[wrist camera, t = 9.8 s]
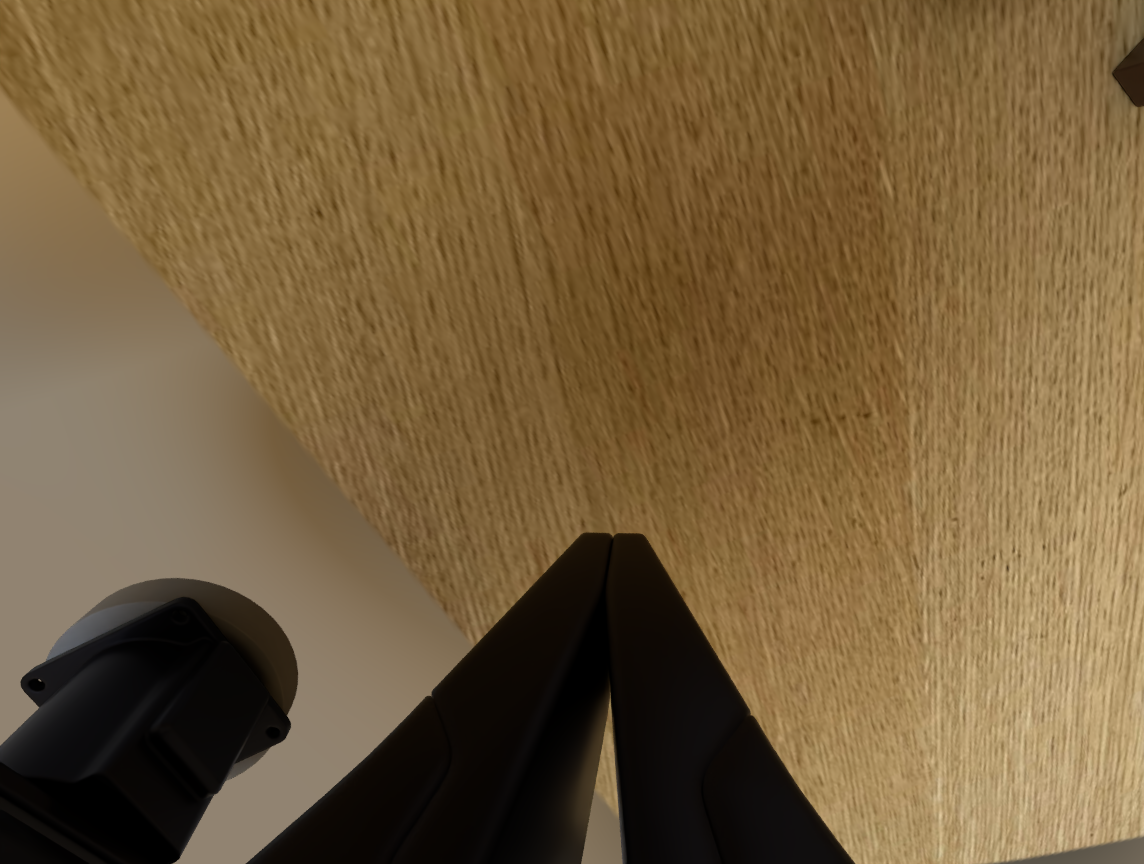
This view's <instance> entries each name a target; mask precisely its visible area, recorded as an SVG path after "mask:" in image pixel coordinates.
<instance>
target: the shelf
mask: <svg viewBox="0 0 1144 864" xmlns="http://www.w3.org/2000/svg"><path fill="white" fill-rule="evenodd" d="M1113 73H1114V75H1115V77H1116V78H1117V80H1118V81H1119V82H1120V84H1121V85H1122V87H1123V88H1124V89H1125V91H1126V92H1127V94H1128V95H1129V96H1130V98H1131V99H1132V101H1133V102H1134V103H1135V105H1136V106H1138V107H1140V106H1144V39H1143V40H1142V41H1141V42H1140V43H1139V45H1138V46H1137V47H1136V48H1135V49H1134V50H1133V51H1132V52H1131V53H1130V54H1129V55H1128V56H1127V58H1126V59H1125V60H1124V61H1123V62H1122V63H1121V64H1120V65H1119V66H1118V67H1117V68H1116V70H1115V71H1114V72H1113Z"/></svg>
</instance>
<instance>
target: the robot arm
mask: <svg viewBox="0 0 1144 864" xmlns="http://www.w3.org/2000/svg"><path fill="white" fill-rule="evenodd" d="M178 610H183V611H184V612H186V613H187V615H188V616H183V615H181V614H180V613H179V611H178ZM38 679H40V680H42V681H43V682H44V683H42V682H41V681H39V680H38ZM21 687H22V689H23V690H24V692H25V693H26V694H27V695H28V696H29V697H30V698H31V699H32V700H33V701H34V702H35V703H36V704H37V706H38V707H39V709H38V710H37V711H36V712H35V713H34V714H33V715H32V716H31V717H29V718H28V719H27V720H26V721H25V722H24V723H23V724H22V725H21V726H20V727H19V728H18V729H17V730H16V731H15V732H14V733H13V734H12V735H11V736H10V737H9V738H8V739H7V740H6V741H5V742H4V743H3V744H2V745H1V746H0V864H172V863H174V862H176V861H177V860H178V859H179V858H180V856H181V855H182V853H183V851H184V849H185V847H186V845H187V843H188V842H189V840H190V838H191V836H192V834H193V832H194V831H195V829H196V827H197V825H198V823H199V821H200V820H201V818H202V816H203V814H204V812H205V810H206V809H207V807H208V805H209V803H210V801H211V799H212V798H213V796H214V794H217V793H218V792H219V791H220V790H221V788H222V786H223V784H224V782H225V780H226V779H227V777H228V775H229V773H230V771H231V769H232V767H233V766H234V764H235V763H238V762H240V761H242V760H244V759H246V758H248V757H250V756H252V755H255V754H257V753H259V752H261V751H263V750H265V749H267V748H270V747H272V746H274V745H276V744H278V743H280V742H282V741H283V740H284V739H285V738H286V736H287V734H288V732H289V730H290V728H291V722H290V720H289V718H288V717H287V715H286V714H285V713H284V712H283V710H282V709H281V708H280V707H279V705H278V704H277V703H276V701H275V700H274V699H273V698H272V696H271V695H270V694H269V692H268V691H267V689H266V688H265V687H264V685H263V684H262V683H261V682H260V680H259V679H258V678H257V677H256V675H255V674H254V673H253V671H252V670H251V669H250V668H249V666H248V665H247V664H246V663H245V661H244V660H243V659H242V657H241V656H240V655H239V654H238V652H237V651H236V650H235V648H234V647H233V646H232V645H231V644H230V643H229V642H228V640H227V639H226V638H225V636H224V635H223V634H222V633H221V631H220V630H219V629H218V628H217V626H216V625H215V624H214V622H213V621H212V620H211V619H210V617H209V616H208V615H207V613H206V612H205V611H204V610H203V608H202V607H201V606H200V605H199V603H198V602H196V601H195V600H194V599H191V598H189V597H180V598H177V599H175V600H172V601H170V602H168V603H166V604H164V605H162V606H160V607H158V608H156V609H154V610H152V611H150V612H148V613H145V614H143V615H141V616H139V617H137V618H135V619H133V620H131V621H129V622H127V623H125V624H123V625H121V626H118V627H116V628H114V629H112V630H110V631H108V632H106V633H104V634H102V635H100V636H98V637H96V638H94V639H91V640H89V641H87V642H85V643H83V644H81V645H79V646H77V647H75V648H73V649H71V650H69V651H67V652H64V653H62V654H60V655H58V656H56V657H54V658H52V659H50V660H48V661H46V662H44V663H42V664H40V665H37V666H36V667H34V668H33V669H32V670H30V671H29V672H28V673H27V674H26V675H25V676H24V677H23V678H22V680H21ZM610 693H611V709H612V724H613V738H614V752H615V765H616V779H617V792H618V806H619V820H620V833H621V847H622V860H623V864H855V863H854V861H853V860H852V859H851V857H850V856H849V855H848V854H847V852H846V851H845V850H844V848H843V847H842V846H841V844H840V843H839V842H838V841H837V839H836V838H835V836H834V835H833V834H832V832H831V831H830V830H829V828H828V827H827V826H826V824H825V823H824V821H823V820H822V819H821V817H820V816H819V815H818V813H817V812H816V810H815V809H814V808H813V806H812V805H811V804H810V802H809V801H808V800H807V798H806V797H805V795H804V794H803V793H802V791H801V790H800V788H799V787H798V785H797V784H796V782H795V781H794V779H793V778H792V776H791V775H790V773H789V772H788V770H787V768H786V767H785V765H784V764H783V762H782V761H781V759H780V758H779V756H778V755H777V753H776V751H775V750H774V748H773V747H772V745H771V744H770V742H769V740H768V739H767V737H766V735H765V734H764V732H763V730H762V729H761V727H760V725H759V724H758V722H757V720H756V719H755V717H754V716H752V715H751V713H750V709H749V708H748V706H747V704H746V703H745V701H744V699H743V698H742V696H741V694H740V693H739V691H738V689H737V688H736V686H735V685H734V683H733V681H732V680H731V678H730V676H729V675H728V673H727V671H726V670H725V668H724V666H723V665H722V663H721V661H720V660H719V658H718V656H717V655H716V653H715V651H714V650H713V648H712V646H711V645H710V643H709V641H708V640H707V638H706V636H705V635H704V633H703V631H702V630H701V628H700V626H699V625H698V623H697V621H696V620H695V618H694V616H693V615H692V613H691V611H690V610H689V608H688V606H687V605H686V603H685V601H684V600H683V598H682V597H681V595H680V593H679V592H678V590H677V588H676V587H675V585H674V583H673V582H672V580H671V578H670V577H669V575H668V573H667V572H666V570H665V568H664V567H663V565H662V563H661V562H660V560H659V558H658V557H657V555H656V553H655V552H654V550H653V548H652V547H651V545H650V543H649V542H648V540H647V538H646V537H645V536H644V535H643V534H637V533H617V534H616V535H614V537H612V535H611V534H609V533H583V534H581V535H580V536H579V537H578V538H577V539H576V540H575V541H574V542H573V544H572V545H571V546H570V547H569V548H568V549H567V550H566V551H565V552H564V553H563V554H562V555H561V556H560V557H559V558H558V559H557V560H556V561H555V562H554V563H553V565H552V566H551V567H550V568H549V569H548V570H547V571H546V572H545V573H544V574H543V575H542V576H541V577H540V578H539V579H538V580H537V581H536V582H535V583H534V584H533V586H532V587H531V588H530V589H529V590H528V591H527V592H526V593H525V594H524V595H523V596H522V597H521V598H520V599H519V600H518V601H517V602H516V603H515V604H514V605H513V607H512V608H511V609H510V610H509V611H508V612H507V613H506V614H505V615H504V616H503V617H502V618H501V619H500V620H499V621H498V622H497V623H496V624H495V625H494V626H493V628H492V629H491V630H490V631H489V632H488V633H487V634H486V635H485V636H484V637H483V638H482V639H481V640H480V641H479V642H478V643H477V644H476V645H475V646H474V647H473V649H472V650H471V651H470V652H469V653H468V654H467V655H466V656H465V657H464V658H463V659H462V660H461V661H460V662H459V663H458V664H457V665H456V666H455V667H454V668H453V670H452V671H451V672H450V673H449V674H448V675H447V676H446V677H445V678H444V679H443V680H442V681H441V682H440V683H439V684H438V685H437V686H436V687H435V688H434V689H433V691H432V696H427V697H425V699H424V700H423V701H422V702H421V703H420V704H419V705H418V706H417V707H416V708H415V709H414V710H413V711H412V712H411V713H410V714H409V715H408V716H407V717H406V719H404V720H403V722H401V723H400V724H399V725H398V726H397V728H395V730H394V731H393V732H392V733H390V735H388V736H387V737H386V739H385V740H383V742H382V743H380V744H379V745H378V747H377V748H375V749H374V750H373V751H372V752H371V753H370V754H369V755H368V756H367V757H366V758H365V759H364V760H363V761H362V762H361V763H359V764H358V765H357V766H356V767H355V768H354V769H353V770H352V771H351V772H350V773H348V775H346V776H345V777H344V778H343V779H342V780H341V781H340V782H339V783H337V784H336V785H335V786H334V787H333V788H332V789H331V790H330V791H329V792H328V793H326V794H325V796H323V797H322V798H321V799H320V800H318V801H317V802H316V803H315V804H314V805H313V806H312V807H311V808H309V809H308V810H307V811H306V812H305V813H304V814H303V815H301V816H300V817H299V818H298V819H297V820H295V821H294V822H293V823H292V824H291V825H290V826H289V827H287V828H286V829H285V830H284V831H283V832H282V833H281V834H279V835H278V836H277V837H276V838H275V839H274V840H273V841H271V842H270V843H269V844H268V845H267V846H266V847H265V848H264V849H262V850H261V851H260V852H259V853H258V854H256V855H255V856H254V857H253V858H252V859H251V860H250V861H248V862H247V863H246V864H581V861H582V856H583V850H584V844H585V838H586V833H587V827H588V822H589V816H590V811H591V804H592V799H593V793H594V788H595V782H596V777H597V771H598V766H599V760H600V754H601V749H602V743H603V737H604V732H605V726H606V721H607V714H608V708H609V701H610ZM271 727H277V728H278V729H279V730H274V729H272V728H271Z"/></svg>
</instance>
